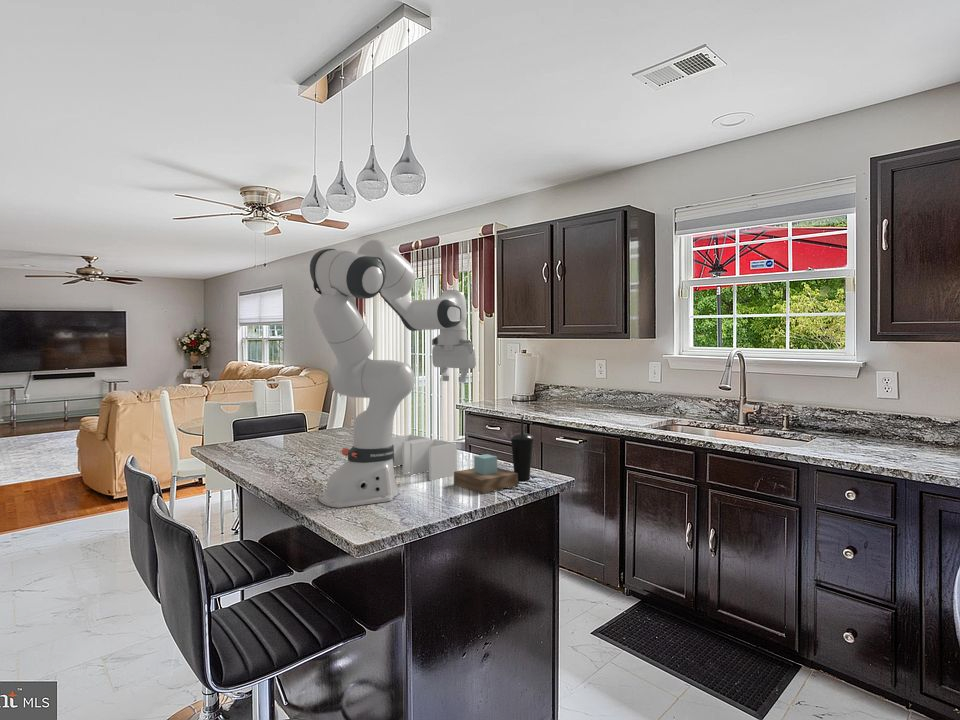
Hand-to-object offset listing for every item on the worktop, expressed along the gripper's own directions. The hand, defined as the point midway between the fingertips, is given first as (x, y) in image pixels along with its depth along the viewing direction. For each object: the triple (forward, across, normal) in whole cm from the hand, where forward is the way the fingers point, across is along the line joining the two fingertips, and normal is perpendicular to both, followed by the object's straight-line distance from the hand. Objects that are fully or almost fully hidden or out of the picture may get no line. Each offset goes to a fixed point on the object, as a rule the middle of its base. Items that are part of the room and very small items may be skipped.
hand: (453, 381), depth 184 cm
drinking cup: (+31, -18, -14) cm, 39 cm away
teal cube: (+27, -17, 0) cm, 32 cm away
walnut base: (+31, -17, 0) cm, 35 cm away
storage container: (+32, +12, +6) cm, 34 cm away
